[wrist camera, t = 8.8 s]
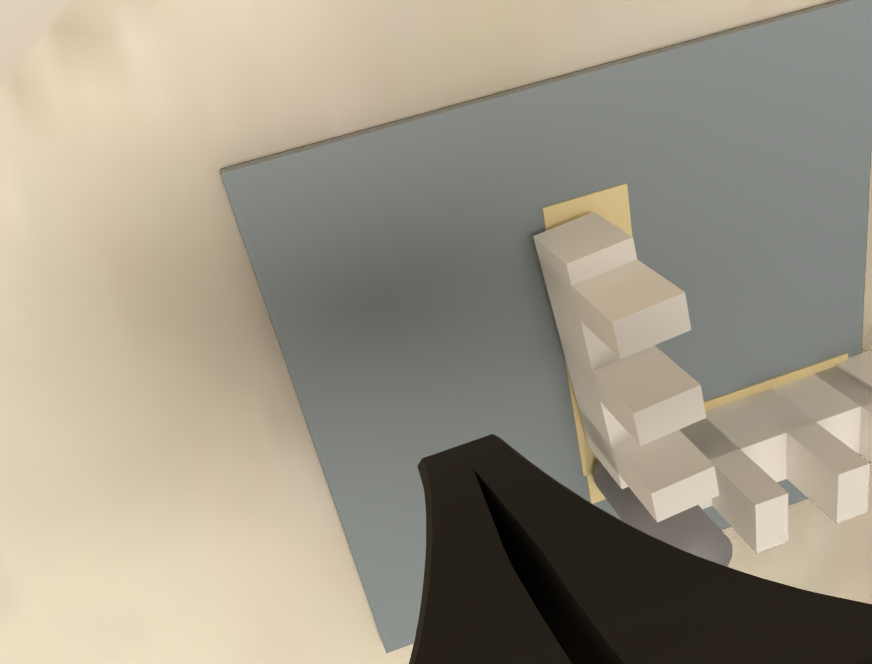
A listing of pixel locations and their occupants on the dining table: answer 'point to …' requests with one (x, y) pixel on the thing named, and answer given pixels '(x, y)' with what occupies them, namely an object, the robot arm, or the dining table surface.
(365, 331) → the board
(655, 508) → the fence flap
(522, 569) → the robot arm
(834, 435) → the fence fixed
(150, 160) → the dining table surface
